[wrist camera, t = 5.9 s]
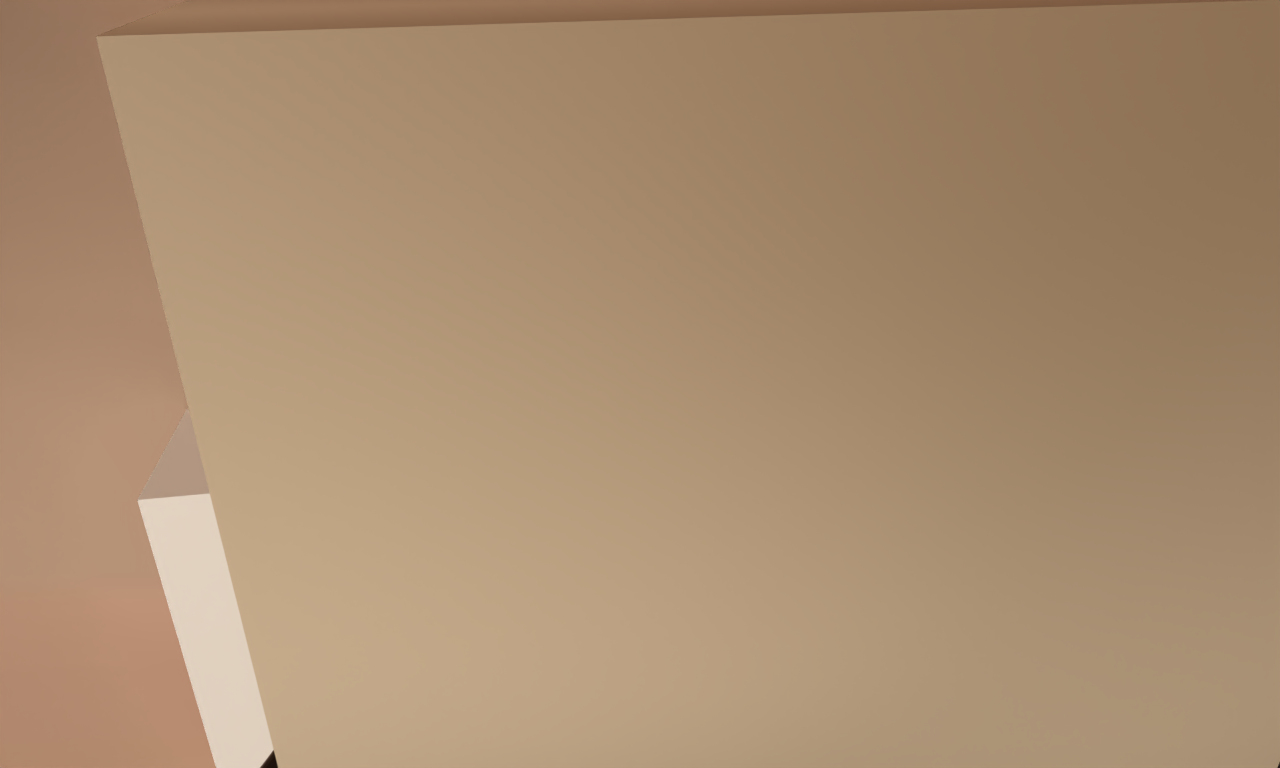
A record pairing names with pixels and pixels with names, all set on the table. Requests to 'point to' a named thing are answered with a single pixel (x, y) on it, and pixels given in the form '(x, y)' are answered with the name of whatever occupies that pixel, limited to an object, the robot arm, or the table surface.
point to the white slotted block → (204, 603)
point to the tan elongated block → (731, 373)
